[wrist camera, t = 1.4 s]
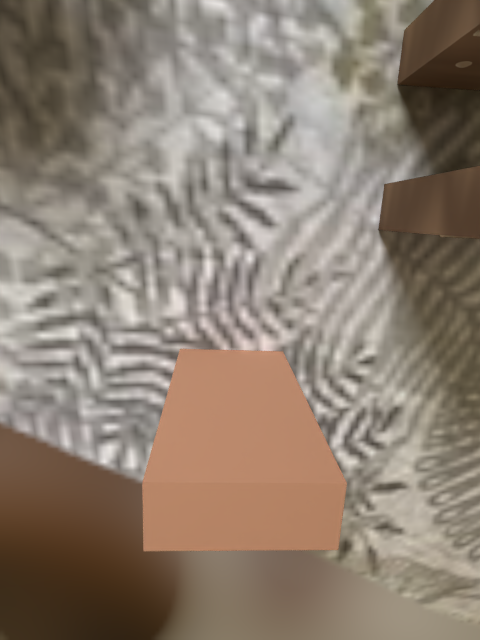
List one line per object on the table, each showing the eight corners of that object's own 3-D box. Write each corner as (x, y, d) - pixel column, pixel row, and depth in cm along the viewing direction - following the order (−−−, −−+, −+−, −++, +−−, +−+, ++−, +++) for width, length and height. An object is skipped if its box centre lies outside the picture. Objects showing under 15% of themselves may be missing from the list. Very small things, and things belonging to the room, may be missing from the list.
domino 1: (180, 348, 19) (142, 482, 10) (282, 351, 20) (346, 483, 10) (179, 389, 20) (143, 554, 10) (279, 391, 20) (337, 552, 10)
